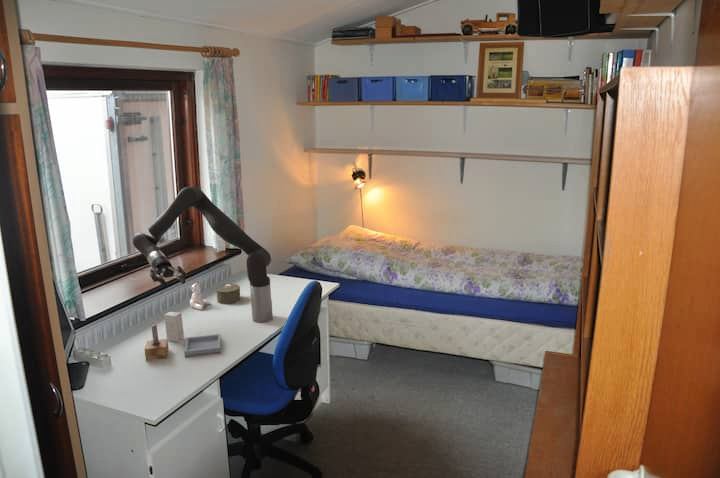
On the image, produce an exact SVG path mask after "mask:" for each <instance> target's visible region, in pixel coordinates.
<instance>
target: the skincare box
mask: <svg viewBox="0 0 720 478" xmlns="http://www.w3.org/2000/svg"><path fill="white" fill-rule="evenodd" d="M163 316H164V324H165V332H166V333H165V334H166V339H168V342H176V343H180V342H181V341H182V340H184V339H185V334H184V332H185V331H184V326H183V315H182V312H177V311H176V312H175V311H169V312H166V313H165V314H164V315H163Z"/></svg>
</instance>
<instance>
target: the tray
mask: <svg viewBox="0 0 720 478" xmlns="http://www.w3.org/2000/svg"><path fill="white" fill-rule="evenodd" d="M185 338H186V339H185V345H184V358H190V357H191V358H192V357H199V356H208V355H219V354H221V350H222V345H221V343H222V341H221V340H222V338H221V334H220V333H217V334H209V335H208V334H206V335H198V336H197V335H196V336H187V337H185Z"/></svg>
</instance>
